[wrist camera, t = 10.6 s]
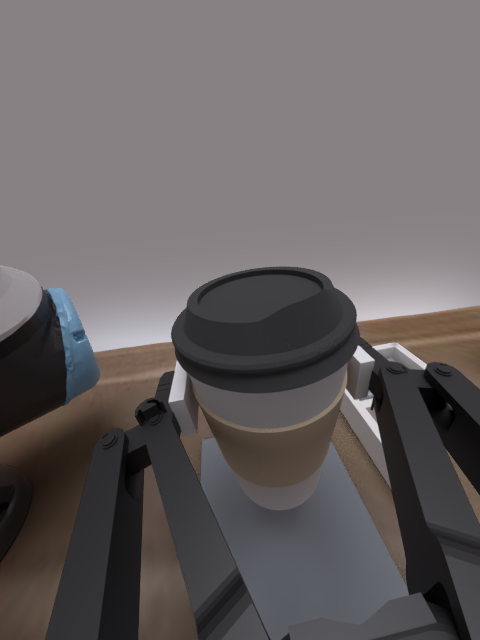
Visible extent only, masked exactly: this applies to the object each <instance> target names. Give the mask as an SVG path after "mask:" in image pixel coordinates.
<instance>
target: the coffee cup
mask: <svg viewBox="0 0 480 640" xmlns="http://www.w3.org/2000/svg"><path fill="white" fill-rule="evenodd" d="M356 316H357V315H356V309H355V306H354V305H353V303H352V301H351V300H350V299H349V298H348V297H347V296H346V295H345V294H344V293H342V292H341V291H339V290H338V289H336V288H334V287H333V285H332V283H331V281H330V279H329V278H328V277H327V276H325V275H323V274H322V273H319V272H317V271H314V270H310V269H305V268H298V267H265V268H257V269H250V270H245V271H240V272H236V273H232V274H229V275H225V276H222V277H219V278H217V279H214V280H212V281H210V282H208V283H206V284H204V285H202V286H201V287H199V288H198V289H196V290H195V291H194V292H193V293H192V294H191V296H190V297H189V299H188V302H187V308H186V309H185V310H183V312H181V314H180V315H179V316H178V317H177V319H176V321H175V323H174V325H173V327H172V332H171V338H172V342H173V344H174V347H175V354H176V358H177V360H178V362H179V364H180V366H181V367H182V368H183V369H184V370H185V371H186V372H187V373H188V374H189V375H190V378H191V380H192V387H193V391H194V394H195V397H196V399H197V401H198V403H199V405H200V407H201V410H202V412H203V414H204V416H205V418H206V420H207V422H208V424H209V427H210V429H211V431H212V433H213V435H214V437H215V439H216V441H217V444H218V446H219V448H220V450H221V452H222V454H223V456H224V458H225V460H226V462H227V463H228V465H229V466H230V467H231V468H232V470H233V472H234V474H235V476H236V478H237V480H238V483H239V485H240V487H241V488H242V490H243V491H244V493H245V494H246V495H247V496H248V497H249V498H250V499H251V500H252V501H254V502H255V503H256V504H258V505H260V506H262V507H264V508H267V509H271V510H288V509H292V508H295V507H297V506H299V505H301V504H302V503H304V502H305V501H306V500H307V499H308V498H309V497H310V496H311V495H312V494H313V492H314V491H315V489H316V487H317V485H318V482H319V478H320V474H321V470H322V466H323V462H324V460H325V458H326V455H327V453H328V450H329V446H330V443H331V439H332V435H333V432H334V428H335V424H336V421H337V417H338V414H339V410H340V406H341V403H342V399H343V395H344V392H345V388H346V384H347V365H348V361H349V360H350V359H351V358H352V356H353V355H354V353H355V351H356V350H357V347H358V344H359V340H360V334H359V329H358V326H357V323H356Z"/></svg>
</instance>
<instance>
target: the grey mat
mask: <svg viewBox="0 0 480 640" xmlns="http://www.w3.org/2000/svg"><path fill="white" fill-rule="evenodd" d="M201 486H202V489H203V491H204V493H205V495H206V498H207V500H208V502H209V504H210V507H211V509H212V511H213V513H214V515H215V518H216V520H217V522H218V524H219V527H220V529H221V531H222V533H223V535H224V538H225V540H226V542H227V544H228V547H229V549H230V551H231V553H232V555H233V558H234V560H235V562H236V564H237V567H238V569H239V571H240V573H241V575H242V578H243V580H244V582H245V584H246V587H247V589H248V591H249V593H250V595H251V598H252V600H253V602H254V604H255V606H256V609H257V611H258V613H259V615H260V617H261V620H262V622H263V624H264V626H265V628H266V631H267V633H268V635H269V637H270V639H271V640H281V639H282V638H283V637H284V636H286V635H287V634H288V633H289V629H288V626H291V625H295V624H299V623H303V622H306V621H310V620H314V619H318V618H325V619H331V620H336V621H341V622H346V623H351V624H357V625H361V624H363V623H364V622H366V621H367V620H368V619H369V618H370V617H371V616H372V615H373V614H374V613H375V612H377V611H378V610H379V609H380V608H381V607H382V606H383V605H384V604H385V603H387V602H388V601H389V600H392V599H396V598H400V597H404V596H408V595H409V593H408V588H407V586H406V584H405V582H404V580H403V578H402V576H401V575H400V573H399V571H398V569H397V567H396V565H395V563H394V561H393V559H392V557H391V555H390V553H389V551H388V550H387V548H386V546H385V544H384V542H383V540H382V538H381V536H380V534H379V532H378V530H377V528H376V526H375V524H374V523H373V521H372V519H371V517H370V515H369V513H368V511H367V509H366V507H365V505H364V503H363V501H362V499H361V497H360V496H359V494H358V492H357V490H356V488H355V486H354V484H353V482H352V480H351V478H350V476H349V474H348V472H347V470H346V469H345V467H344V465H343V463H342V461H341V459H340V457H339V455H338V453H337V451H336V449H335V447H334V445H333V444H332V442H331V443H330V446H329V450H328V453H327V455H326V458H325V460H324V462H323V466H322V470H321V474H320V478H319V482H318V485H317V487H316V489H315V491H314V492H313V494H312V495H311V496H310V497H309V498H308V499H307V500H306V501H305V502H304V503H302V504H301V505H299V506H297V507H295V508H292V509H288V510H271V509H267V508H264V507H262V506H260V505H258V504H256V503H255V502H254V501H252V500H251V499H250V498H249V497H248V496H247V495H246V494H245V493H244V491H243V490H242V488H241V487H240V485H239V483H238V480H237V478H236V476H235V474H234V472H233V470H232V468H231V467H230V466H229V465H228V463H227V462H226V460H225V458H224V456H223V454H222V452H221V450H220V448H219V446H218V444H217V441H216V439H215V437H213V438H209V439H204V440H202V458H201ZM289 635H290V634H289ZM196 640H197V627H196ZM290 640H291V639H290Z"/></svg>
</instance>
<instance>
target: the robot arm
mask: <svg viewBox="0 0 480 640" xmlns="http://www.w3.org/2000/svg"><path fill="white" fill-rule="evenodd" d="M99 377H100V370H99V366H98V363H97V360H96V358H95V355H94V353H93V350H92V347H91V345H90V343H89V340H88V338H87V336H86V335H85V331H84V329H83V327H82V324H81V321H80V319H79V316H78V314H77V312H76V310H75V308H74V305H73V303H72V301H71V299H70V297H69V295H68V293H67V292H66V291H65V290H64V289H62V288H55V289H53V288H48V289H46V290H43V289H42V287H41V286H40V284H39V283H38V281H36V279H35V278H34V277H32V276H31V275H30V274H28V273H26V272H24V271H21V270H18V269H15V268H10V267H5V266H1V265H0V437H1V436H3V435H5V434H7V433H9V432H11V431H13V430H15V429H17V428H19V427H21V426H23V425H25V424H27V423H29V422H31V421H33V420H35V419H37V418H39V417H41V416H43V415H45V414H47V413H49V412H51V411H53V410H55V409H57V408H59V407H61V406H64V405H66V404H68V403H69V402H70V401H71V400H72V399H73V398H75V397H77V396H79V395H80V394H82V393H84V392H86V391H87V390H89V389H91V388H92V387H94V386H95V385H96V383H97V382H98V380H99ZM346 389H347V391H348V392H349V393H350V395H351V396H352V397H353V399H354V400H357V399H362V398H366V397H367V396H368V391H370V392H371V393H372V394H373V400H372V404H371V410H372V411H373V408H374V410H375V414H376V419H377V424H378V428H379V433H380V438H381V442H382V447H383V452H384V457H385V461H386V466H387V471H388V475H389V480H390V485H391V489H392V494H393V499H394V504H395V508H396V513H397V518H398V522H399V527H400V532H401V536H402V541H403V546H404V551H405V556H406V580H407V587H408V593H409V595H408V596H404V597H400V598H396V599H392V600H389V601H388V602H387V603H385V604H384V605H383V606H382V607H381V608H380V609H379V610H378V611H377V612H375V613H374V614H373V615H372V616H371V617H370V618H369V619H368V620H367V621H366V622H364V623H363V624H361V625H357V624H351V623H346V622H341V621H336V620H331V619H325V618H318V619H314V620H310V621H306V622H303V623H299V624H295V625H291V626H288V629H289V633H288V634H287V635H286V636H284V637H283V638H282V639H281V640H290V639H291V640H480V524H479V522H478V520H477V517H476V515H475V513H474V511H473V509H472V506H471V504H470V502H469V500H468V497H467V495H466V493H465V491H464V489H463V486H462V484H461V482H460V480H459V478H458V475H457V473H456V471H455V469H454V467H453V464H452V462H451V460H450V458H449V456H448V453H447V451H448V452H449V453H450V455H451V456H452V458H453V459H454V460H455V462H456V463H457V464H458V466H459V467H460V469H461V470H462V471H463V473H464V474H465V475H466V477H467V478H468V480H469V481H470V482H471V484H472V485H473V486H474V488H475V489H476V491H477V492H478V493H479V495H480V389H479V388H477V387H476V386H475V385H474V384H473V383H472V382H471V381H470V380H468V379H467V378H466V377H465V376H464V375H463V374H462V373H461V372H459V371H458V370H457V369H455V368H454V367H452V366H450V365H447V364H443V363H437V362H433V363H429V364H428V365H427V366H426V368H425V370H418V369H408V368H407V367H406V366H404V365H403V364H400V363H398V362H393V361H388V360H387V359H386V358H385V357H384V356H382V355H381V354H380V353H379V352H378V351H377V350H375V349H374V348H372V346H371V345H370V344H368V343H367V342H366V341H365V340H364V339H363V338H361V337H360V340H359V344H358V347H357V350H356V351H355V353H354V355H353V356H352V358H351V359H350V360H349V361H348V365H347V384H346ZM449 405H450V406H451V407H452V408H451V407H450V406H449ZM198 406H199V403H198V401H197V399H196V397H195V394H194V391H193V387H192V380H191V378H190V375H189V374H188V373H187V372H186V371H185V370H184V369H183V368H182V367H181V366H180V364H179V362H178V360H177V364H176V368H175V371H171V372H166V373H164V374H163V376H162V377H161V378H160V381H159V384H158V388H157V392H156V395H155V397H154V398H150V399H147V400H145V401H144V402H142V403H141V404H140V405H139V406H138V407H137V409H136V411H135V417H136V419H137V421H138V422H139V424H140V425H138V426H136V427H134V428H132V429H130V430H128V431H126V432H124V431H123V430H122V429H118V428H116V429H112V430H110V431H108V432H106V433H105V434H104V435H103V436H101V437H100V439H99V440H98V441H97V442H96V445H95V447H94V450H93V454H92V458H91V462H90V466H89V470H88V474H87V478H86V482H85V485H84V489H83V493H82V497H81V501H80V505H79V509H78V513H77V517H76V521H75V525H74V529H73V532H72V536H71V540H70V544H69V548H68V552H67V556H66V560H65V564H64V568H63V572H62V575H61V579H60V583H59V587H58V591H57V595H56V599H55V603H54V607H53V611H52V615H51V619H50V622H49V626H48V630H47V634H46V638H45V640H138V628H139V600H140V572H141V544H142V515H143V487H144V468H146V467H148V466H149V465H151V464H152V467H153V470H154V474H155V477H156V481H157V485H158V488H159V492H160V495H161V499H162V502H163V506H164V509H165V513H166V517H167V520H168V524H169V527H170V531H171V534H172V538H173V541H174V545H175V549H176V552H177V556H178V559H179V563H180V566H181V570H182V573H183V577H184V581H185V584H186V588H187V591H188V595H189V598H190V602H191V605H192V609H193V612H194V616H195V620H196V626H197V640H271V639H270V637H269V635H268V633H267V631H266V628H265V626H264V624H263V622H262V620H261V617H260V615H259V613H258V611H257V609H256V606H255V604H254V602H253V600H252V598H251V595H250V593H249V591H248V589H247V587H246V584H245V582H244V580H243V578H242V575H241V573H240V571H239V569H238V567H237V564H236V562H235V560H234V558H233V555H232V553H231V551H230V549H229V547H228V544H227V542H226V540H225V538H224V535H223V533H222V531H221V529H220V527H219V524H218V522H217V520H216V518H215V515H214V513H213V511H212V509H211V507H210V504H209V502H208V500H207V498H206V495H205V493H204V491H203V489H202V486H201V484H200V482H199V480H198V478H197V475H196V473H195V471H194V469H193V466H192V464H191V462H190V460H189V458H188V455H187V453H186V451H185V449H184V446H183V444H182V442H181V440H180V433H181V432H182V434H183V436H187V435H191V434H196V433H197V425H198ZM445 448H446V449H447V451H446V449H445ZM31 496H32V488H31V483H30V481H29V479H28V478H27V477H26V476H25V475H23V474H22V473H21V472H19V471H18V470H17V469H15V468H14V467H11V466H9V465H4V464H0V560H1V559H2V557H3V556H4V555H5V553H6V552H7V550H8V548H9V547H10V545H11V544H12V542H13V540H14V539H15V537H16V535H17V533H18V532H19V530H20V528H21V526H22V524H23V522H24V519H25V517H26V515H27V512H28V509H29V506H30V502H31ZM289 634H290V635H289Z"/></svg>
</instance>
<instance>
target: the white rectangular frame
mask: <svg viewBox="0 0 480 640" xmlns="http://www.w3.org/2000/svg"><path fill="white" fill-rule="evenodd" d="M372 348H374V349H375V350H377V351H378V352H379V353H380V354H381V355H382V356H384V357H385V358H386V359H387V360H388V361H393V362H398V363H400V364H403V365H404V366H406V367H407V368H408V369H418V370H425V368H426V366H427V364H425V363H424V362H423V361H421V360H420V359H418V358H417V357H416V356H414V355H413V354H412V353H410V352H409V351H407V350H406V349H405V348H403V347H402V346H401V345H399V344H398V343H397V342H393V343H388V344H383V345H378V346H373V347H372ZM372 400H373V394H372V393H371V392H370V391H368V396H367V397H366V398H362V399H357V400H354V399H353V397H352V396H351V395H350V393H349V392H348V391H347V389H346V388H345V392H344V395H343V399H342V403H341V406H340V411H341V412H342V414H343V415H344V417H345V418H346V420H347V421H348V423H349V425H350V426H351V428H352V429H353V431H354V432H355V434H356V436H357V437H358V439H359V440H360V442H361V443H362V445H363V446H364V448H365V450H366V451H367V453H368V454H369V456H370V457H371V459H372V460H373V462H374V464H375V465H376V467H377V468H378V470H379V471H380V473H381V474H382V476H383V478H384V479H385V481H386V482H387V484H388V485H389V487H390V489H391V485H390V480H389V475H388V471H387V466H386V461H385V457H384V452H383V447H382V442H381V438H380V433H379V428H378V424H377V419H376V414H375V410H374V408H373V411H372V410H371V404H372ZM449 406H450V405H449ZM450 407H451V406H450ZM451 408H452V407H451ZM391 490H392V489H391Z"/></svg>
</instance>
